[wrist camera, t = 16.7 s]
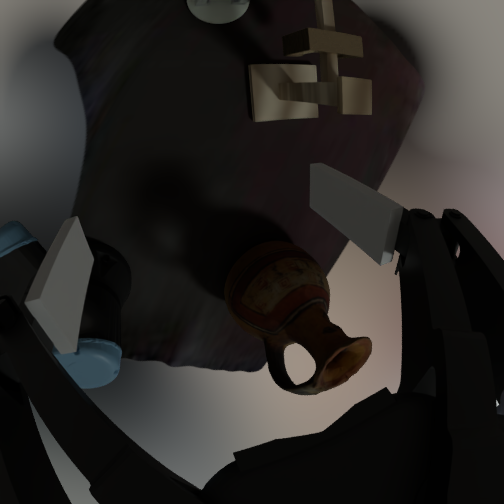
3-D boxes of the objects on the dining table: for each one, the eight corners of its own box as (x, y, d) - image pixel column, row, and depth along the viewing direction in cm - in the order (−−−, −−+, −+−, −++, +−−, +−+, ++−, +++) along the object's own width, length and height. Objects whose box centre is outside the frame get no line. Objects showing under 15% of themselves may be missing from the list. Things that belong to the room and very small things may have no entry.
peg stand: (252, 121, 43) (314, 139, 27) (242, 1, 30) (299, -44, 15) (314, 116, 45) (391, 136, 30) (307, 6, 33) (383, -19, 17)
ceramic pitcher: (319, 258, 64) (401, 349, 40) (264, 317, 68) (319, 418, 44) (262, 214, 53) (356, 323, 29) (200, 289, 57) (245, 418, 33)
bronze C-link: (283, 55, 30) (310, 50, 24) (282, 36, 28) (308, 27, 23) (332, 59, 32) (363, 57, 26) (331, 41, 30) (361, 37, 25)
